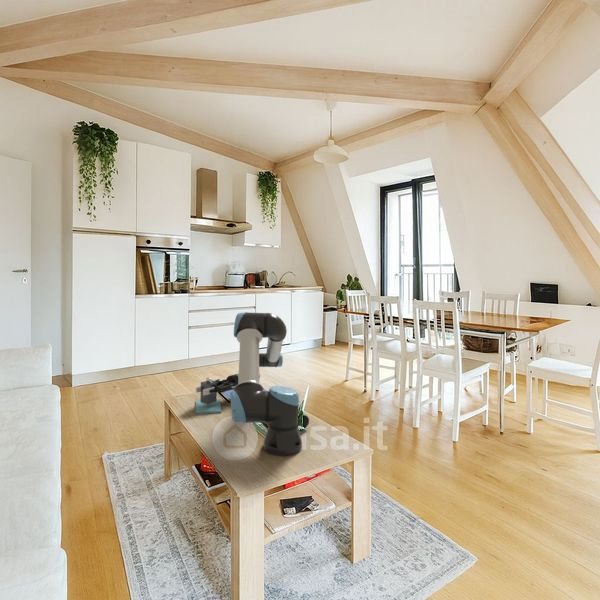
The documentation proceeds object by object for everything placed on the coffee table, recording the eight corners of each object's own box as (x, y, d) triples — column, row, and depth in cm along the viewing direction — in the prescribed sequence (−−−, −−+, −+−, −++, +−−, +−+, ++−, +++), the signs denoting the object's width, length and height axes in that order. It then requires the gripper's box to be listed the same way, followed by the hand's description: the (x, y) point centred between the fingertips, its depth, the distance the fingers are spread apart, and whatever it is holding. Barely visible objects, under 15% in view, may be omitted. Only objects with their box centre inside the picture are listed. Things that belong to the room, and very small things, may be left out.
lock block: (206, 404, 182) (207, 380, 181) (200, 401, 185) (200, 378, 184) (216, 401, 186) (216, 377, 186) (210, 399, 190) (210, 376, 189)
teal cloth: (221, 412, 180) (221, 410, 180) (195, 414, 177) (195, 412, 176) (219, 400, 197) (219, 398, 197) (196, 401, 194) (196, 399, 194)
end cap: (309, 429, 164) (309, 414, 164) (295, 432, 160) (296, 417, 160) (296, 421, 173) (297, 407, 172) (283, 424, 169) (284, 409, 168)
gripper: (247, 392, 194) (211, 403, 176) (224, 384, 205) (188, 394, 187) (247, 377, 193) (211, 387, 175) (224, 371, 205) (188, 380, 186)
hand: (199, 391), depth 181 cm, fingers closed on lock block, 5 cm apart
